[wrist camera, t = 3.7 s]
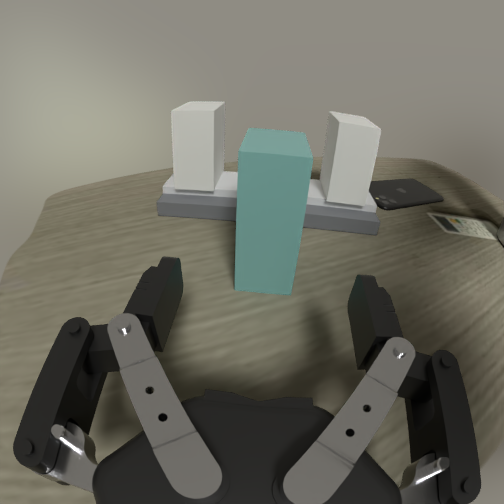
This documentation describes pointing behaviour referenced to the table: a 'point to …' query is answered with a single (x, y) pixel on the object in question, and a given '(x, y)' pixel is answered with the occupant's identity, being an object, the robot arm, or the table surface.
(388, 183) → the smartphone
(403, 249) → the table surface
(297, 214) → the block
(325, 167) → the white and grey dock
